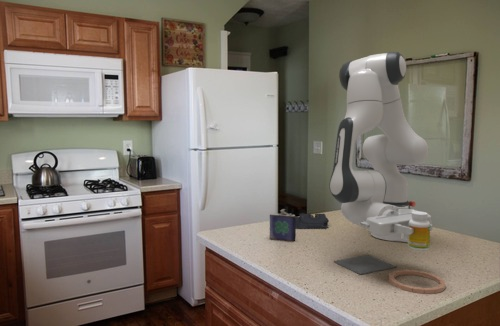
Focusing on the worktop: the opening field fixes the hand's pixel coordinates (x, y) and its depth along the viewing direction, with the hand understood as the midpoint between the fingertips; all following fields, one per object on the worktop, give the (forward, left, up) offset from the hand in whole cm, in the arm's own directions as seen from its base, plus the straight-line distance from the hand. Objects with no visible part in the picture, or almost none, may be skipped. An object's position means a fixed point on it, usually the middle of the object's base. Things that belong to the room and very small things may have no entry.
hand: (421, 229), depth 108 cm
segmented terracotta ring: (0, -1, -15) cm, 15 cm away
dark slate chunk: (-7, -68, -16) cm, 70 cm away
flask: (+12, -52, -15) cm, 55 cm away
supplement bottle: (0, -1, -5) cm, 5 cm away
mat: (+3, -18, -15) cm, 24 cm away
